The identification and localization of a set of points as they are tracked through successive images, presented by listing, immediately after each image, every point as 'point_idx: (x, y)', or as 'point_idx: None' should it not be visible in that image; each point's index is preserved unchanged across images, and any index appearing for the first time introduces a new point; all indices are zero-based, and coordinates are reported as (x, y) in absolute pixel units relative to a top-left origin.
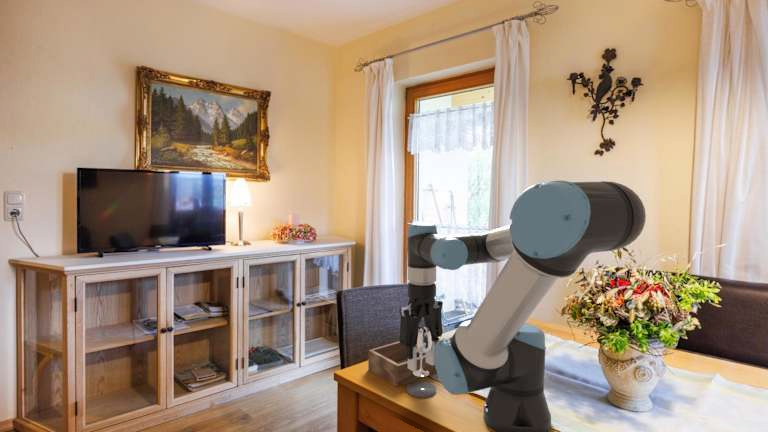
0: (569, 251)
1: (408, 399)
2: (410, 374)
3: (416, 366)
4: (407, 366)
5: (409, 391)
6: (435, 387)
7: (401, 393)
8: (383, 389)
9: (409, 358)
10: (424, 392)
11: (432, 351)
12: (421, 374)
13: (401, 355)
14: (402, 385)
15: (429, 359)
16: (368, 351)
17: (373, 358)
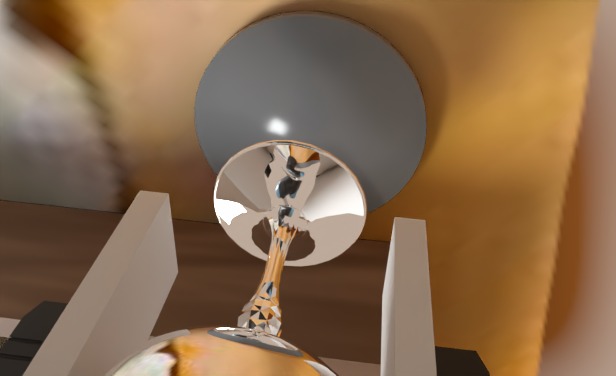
0: None
1: (489, 96)
2: (285, 272)
3: (393, 251)
4: (304, 330)
5: (415, 154)
6: (212, 66)
7: (452, 182)
8: (493, 282)
9: (484, 367)
10: (341, 70)
11: (104, 306)
12: (322, 180)
13: None
14: (365, 241)
15: (156, 261)
16: None
17: None
